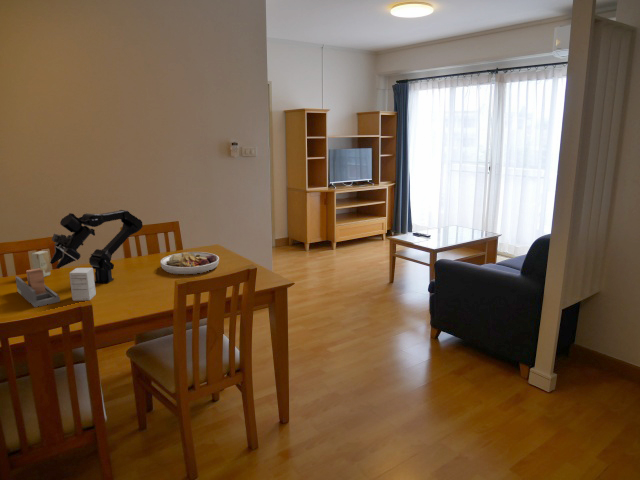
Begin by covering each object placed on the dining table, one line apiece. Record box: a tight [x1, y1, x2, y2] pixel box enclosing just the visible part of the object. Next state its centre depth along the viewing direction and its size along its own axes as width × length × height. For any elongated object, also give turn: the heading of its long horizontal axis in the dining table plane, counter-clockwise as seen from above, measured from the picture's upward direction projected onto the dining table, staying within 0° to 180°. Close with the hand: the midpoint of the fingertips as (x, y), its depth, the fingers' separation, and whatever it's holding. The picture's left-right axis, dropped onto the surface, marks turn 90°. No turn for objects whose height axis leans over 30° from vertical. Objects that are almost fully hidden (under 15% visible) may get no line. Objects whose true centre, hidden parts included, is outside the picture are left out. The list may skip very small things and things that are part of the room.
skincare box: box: [31, 250, 51, 278], centre depth 227 cm, size 6×4×12 cm
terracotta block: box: [26, 268, 46, 295], centre depth 199 cm, size 5×5×10 cm
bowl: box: [160, 251, 220, 276], centre depth 245 cm, size 30×30×8 cm
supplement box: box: [68, 267, 97, 302], centre depth 199 cm, size 7×7×13 cm
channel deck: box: [15, 276, 61, 308], centre depth 200 cm, size 26×10×7 cm, turn 46°
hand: (54, 265), depth 203 cm, fingers open, 9 cm apart
